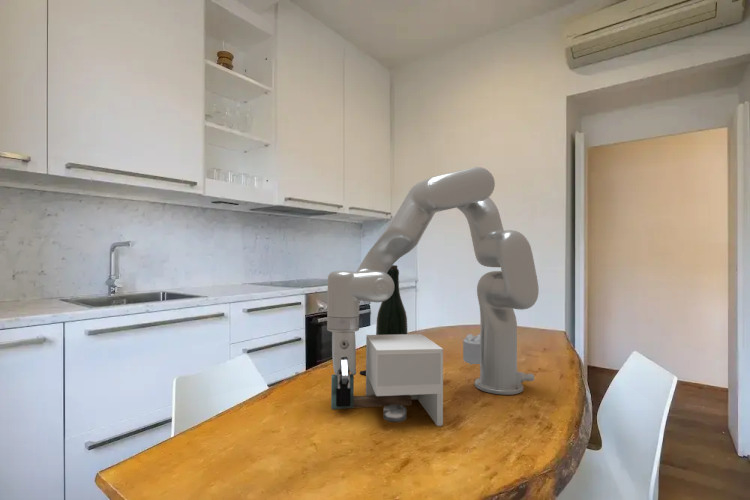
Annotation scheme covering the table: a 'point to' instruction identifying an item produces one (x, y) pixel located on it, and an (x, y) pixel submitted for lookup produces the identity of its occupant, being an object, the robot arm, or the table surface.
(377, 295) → the robot arm
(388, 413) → the silver metal dome
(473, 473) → the table surface
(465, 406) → the table surface
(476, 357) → the lumpy-topped squat cylinder
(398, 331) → the dark green wine bottle
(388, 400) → the mallet
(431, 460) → the table surface
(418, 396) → the cabinet
